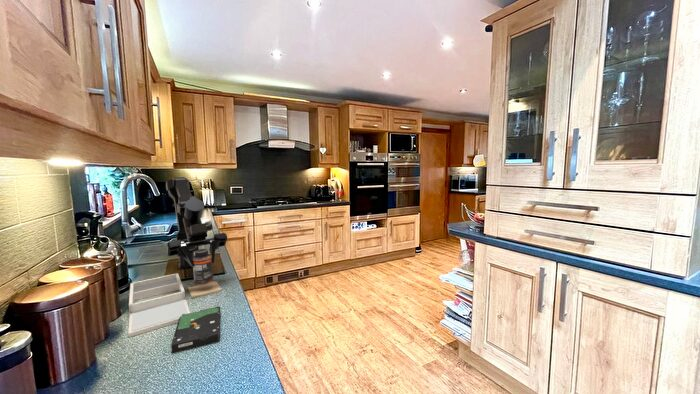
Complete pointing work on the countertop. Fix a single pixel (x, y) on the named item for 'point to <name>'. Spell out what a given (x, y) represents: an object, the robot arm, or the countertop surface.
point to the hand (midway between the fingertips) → (203, 264)
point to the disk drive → (197, 329)
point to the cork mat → (204, 289)
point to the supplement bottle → (202, 267)
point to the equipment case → (156, 304)
